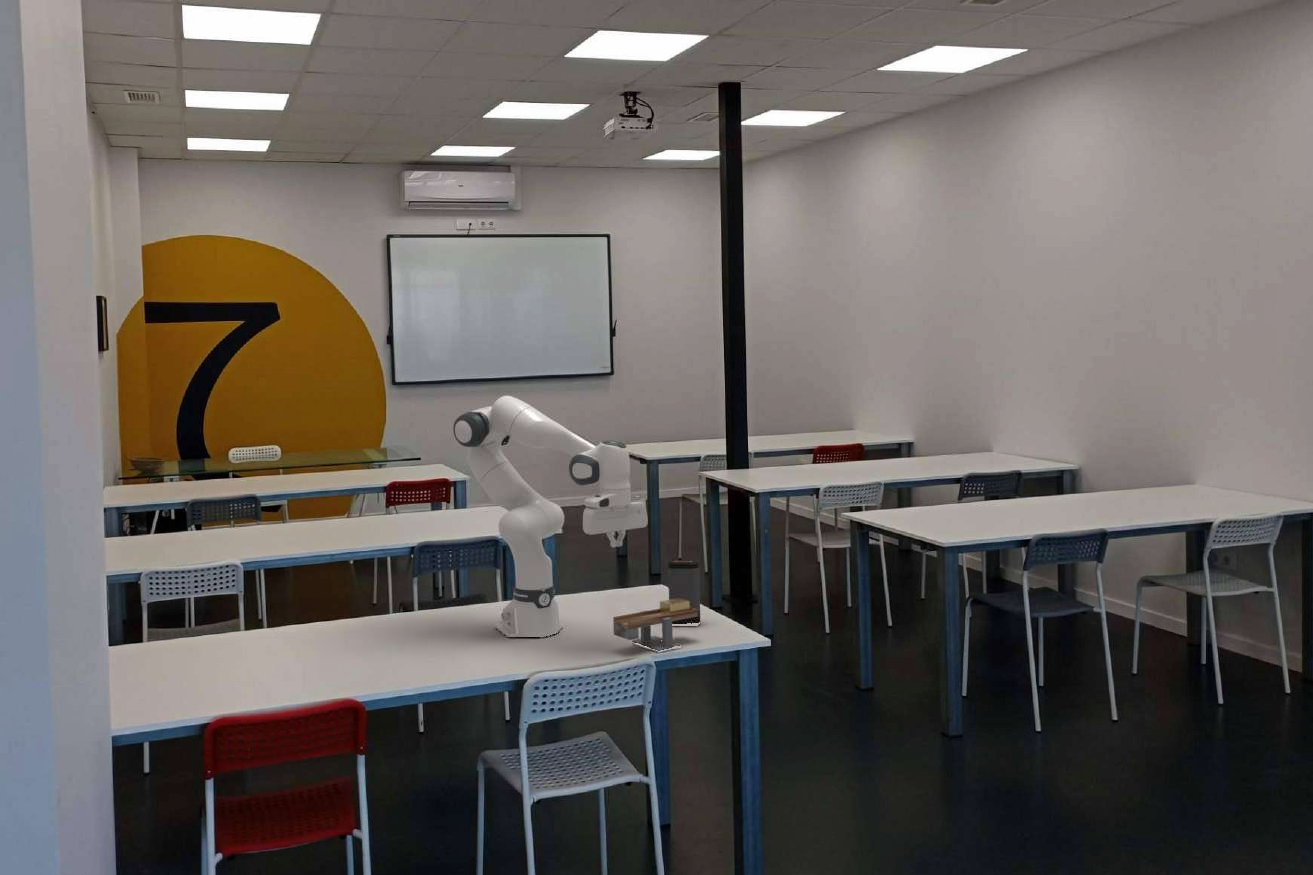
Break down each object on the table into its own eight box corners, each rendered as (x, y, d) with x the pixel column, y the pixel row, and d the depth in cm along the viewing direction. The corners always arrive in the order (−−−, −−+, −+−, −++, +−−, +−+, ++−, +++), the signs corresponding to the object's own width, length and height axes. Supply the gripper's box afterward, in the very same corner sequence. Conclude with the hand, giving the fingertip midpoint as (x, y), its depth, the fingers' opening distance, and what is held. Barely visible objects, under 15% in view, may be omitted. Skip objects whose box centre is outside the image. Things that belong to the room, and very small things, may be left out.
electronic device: (700, 622, 349) (699, 558, 347) (699, 627, 343) (698, 562, 341) (670, 622, 350) (669, 558, 348) (669, 627, 344) (667, 562, 342)
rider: (659, 613, 326) (659, 601, 326) (679, 609, 330) (679, 597, 330) (670, 616, 322) (670, 604, 322) (689, 612, 326) (689, 600, 326)
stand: (632, 643, 325) (631, 613, 325) (654, 639, 330) (654, 608, 329) (658, 653, 315) (658, 621, 314) (681, 648, 320) (680, 616, 319)
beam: (613, 634, 318) (613, 617, 318) (681, 621, 332) (680, 604, 332) (629, 640, 312) (629, 622, 311) (697, 626, 326) (697, 609, 326)
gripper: (638, 493, 327) (640, 540, 328) (579, 500, 315) (580, 549, 316) (651, 495, 322) (652, 543, 323) (591, 502, 310) (592, 552, 311)
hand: (616, 546), depth 320 cm, fingers closed
